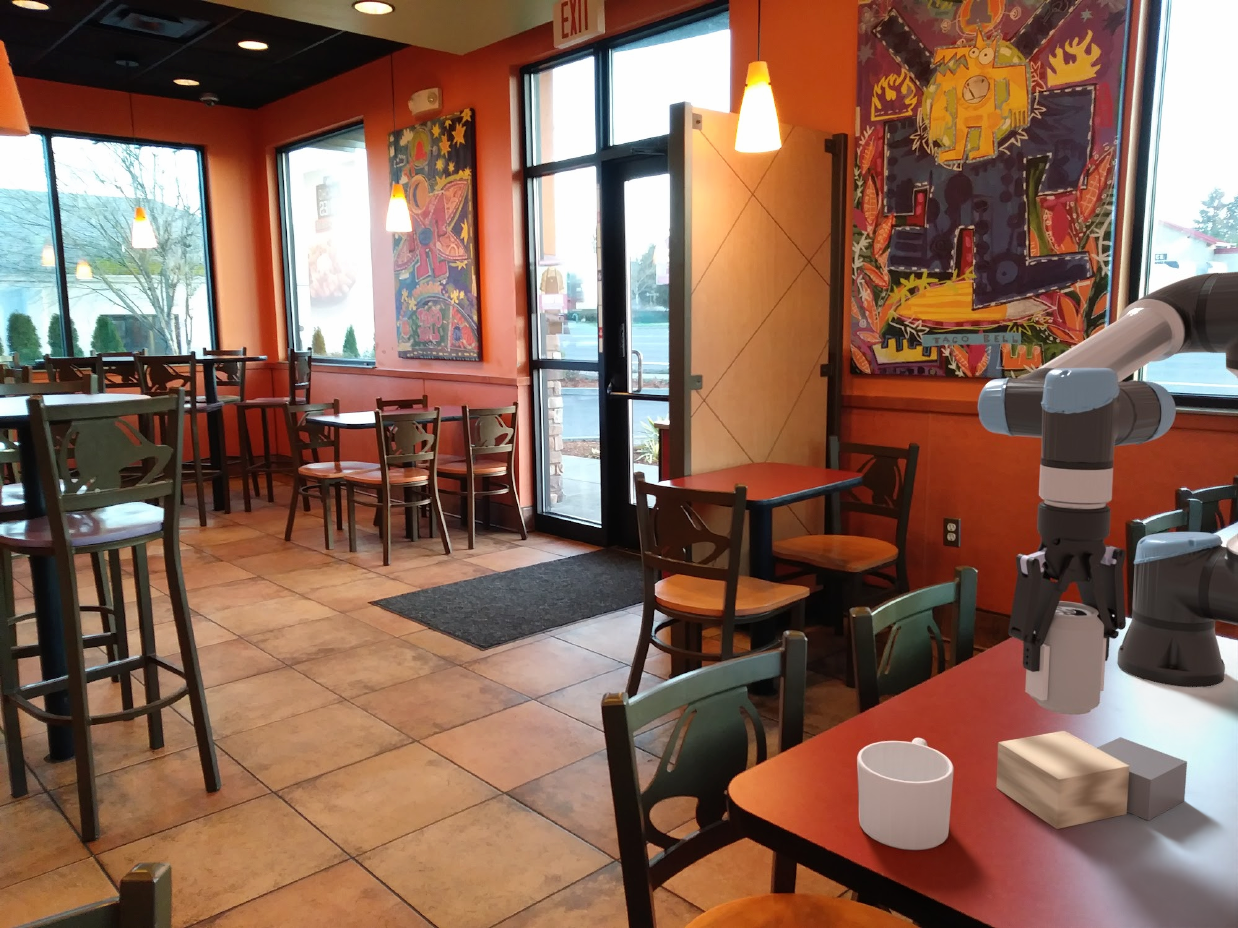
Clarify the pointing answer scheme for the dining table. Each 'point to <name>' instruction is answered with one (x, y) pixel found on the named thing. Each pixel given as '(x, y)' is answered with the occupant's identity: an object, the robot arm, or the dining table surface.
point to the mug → (904, 794)
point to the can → (1074, 659)
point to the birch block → (1062, 779)
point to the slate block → (1149, 777)
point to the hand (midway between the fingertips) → (1064, 691)
